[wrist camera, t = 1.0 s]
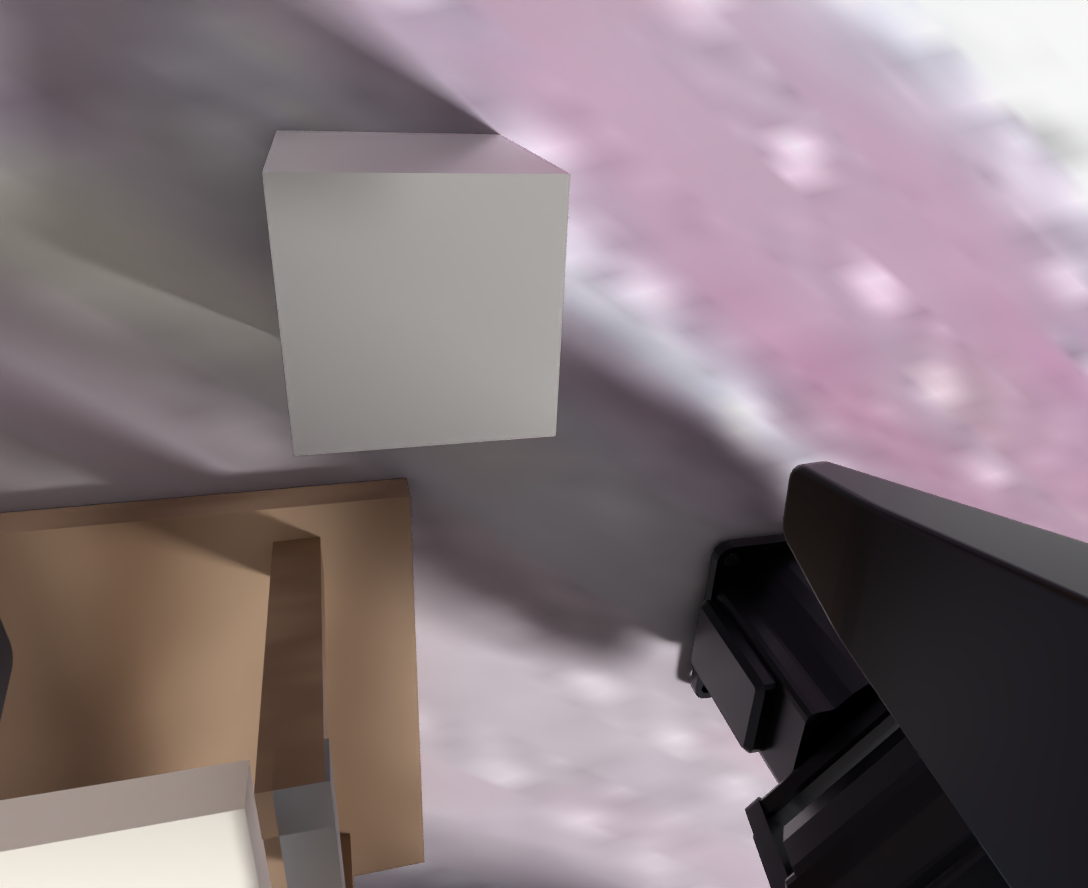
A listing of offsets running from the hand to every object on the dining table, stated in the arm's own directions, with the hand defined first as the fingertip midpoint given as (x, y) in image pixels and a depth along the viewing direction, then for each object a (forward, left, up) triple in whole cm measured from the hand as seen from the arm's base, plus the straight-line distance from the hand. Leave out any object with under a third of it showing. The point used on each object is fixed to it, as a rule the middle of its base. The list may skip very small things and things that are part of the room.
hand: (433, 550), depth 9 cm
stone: (-1, -1, -12) cm, 12 cm away
